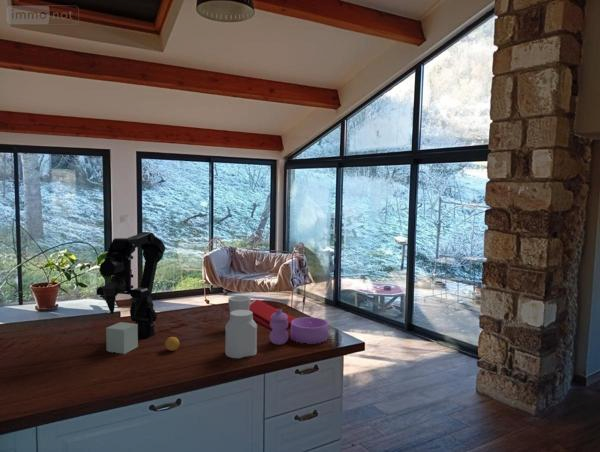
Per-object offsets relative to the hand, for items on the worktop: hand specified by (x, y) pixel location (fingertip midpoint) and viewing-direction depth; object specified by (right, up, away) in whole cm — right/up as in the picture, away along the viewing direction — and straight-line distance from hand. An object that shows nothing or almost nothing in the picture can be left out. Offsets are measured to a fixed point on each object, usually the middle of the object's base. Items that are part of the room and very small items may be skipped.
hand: (122, 314), depth 167 cm
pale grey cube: (-1, -13, +1) cm, 13 cm away
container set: (+65, -13, +15) cm, 68 cm away
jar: (+44, -14, -1) cm, 46 cm away
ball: (+18, -11, +1) cm, 21 cm away
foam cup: (+39, -12, +29) cm, 50 cm away
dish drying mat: (+49, -11, +47) cm, 69 cm away
